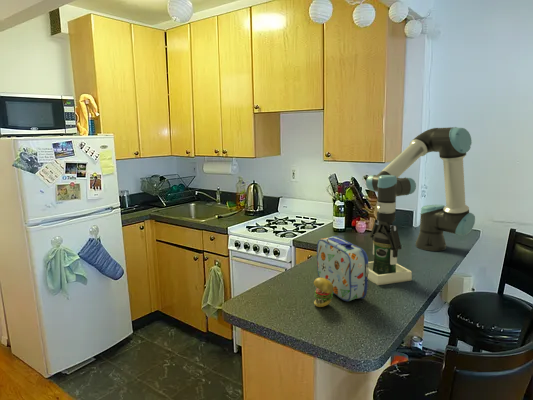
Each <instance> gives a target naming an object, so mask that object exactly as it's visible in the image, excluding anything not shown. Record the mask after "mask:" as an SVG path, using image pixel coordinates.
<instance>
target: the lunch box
mask: <svg viewBox="0 0 533 400" xmlns="http://www.w3.org/2000/svg"><path fill="white" fill-rule="evenodd" d="M316 244H317V245H316V267H317V275H318V278H325V279H327V280H329V281H330V282H331V283H332V285H333V295H335V296H336V297H338V298H340V300H341V301H345V302H351V301H352V300H355V299H356V300H357V299H365V298H366V296H367V294H368V293H367V292H368V290H369V285H370V284H369V279H368V278H367V277H368V274H369V268H368V262H369V256H368V254H367V252H366V251H365V249H363V248H362V247H360V246H358V245H356V244H354V243H352V242H350V241H348V240H346V239H344V238H343V237H340V236H338V235H333V236H330V237H325V238H319V239H318V241H317V243H316ZM328 277H329V278H328Z"/></svg>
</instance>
